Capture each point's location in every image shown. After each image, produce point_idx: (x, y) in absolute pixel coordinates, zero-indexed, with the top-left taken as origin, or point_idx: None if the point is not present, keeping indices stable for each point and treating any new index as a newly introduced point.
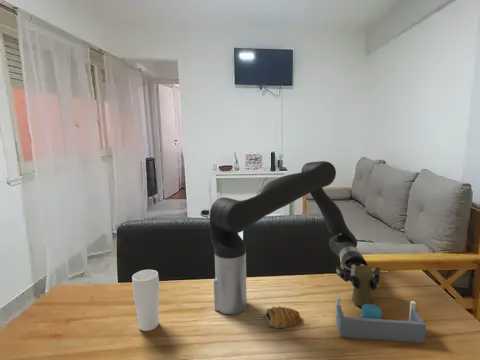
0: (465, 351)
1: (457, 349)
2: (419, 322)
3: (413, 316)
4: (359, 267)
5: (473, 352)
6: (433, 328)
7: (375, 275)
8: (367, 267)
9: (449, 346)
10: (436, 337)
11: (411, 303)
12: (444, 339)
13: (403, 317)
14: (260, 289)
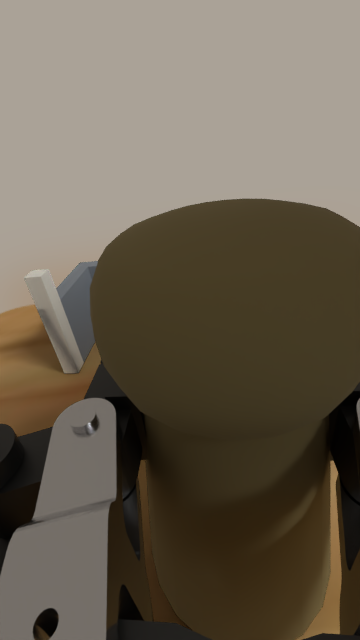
0: (19, 312)
1: (31, 313)
2: (91, 265)
3: (73, 299)
4: (302, 207)
5: (4, 312)
6: (3, 368)
7: (17, 446)
8: (161, 221)
9: (40, 318)
10: (40, 337)
11: (49, 273)
12: (25, 334)
13: (57, 414)
14: None
